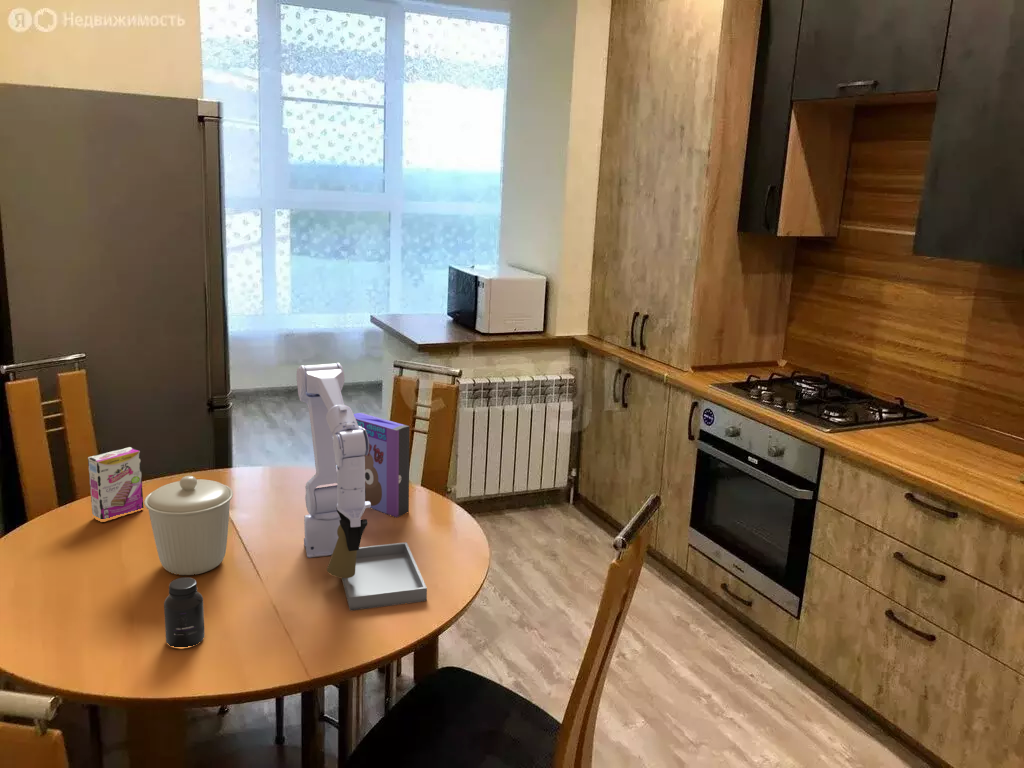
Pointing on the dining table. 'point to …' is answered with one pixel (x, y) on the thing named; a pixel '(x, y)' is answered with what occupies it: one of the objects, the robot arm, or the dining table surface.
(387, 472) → the cereal box
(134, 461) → the candy bar box
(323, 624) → the dining table surface
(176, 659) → the dining table surface
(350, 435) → the robot arm
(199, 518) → the canister
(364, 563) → the box
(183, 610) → the supplement bottle
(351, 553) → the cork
